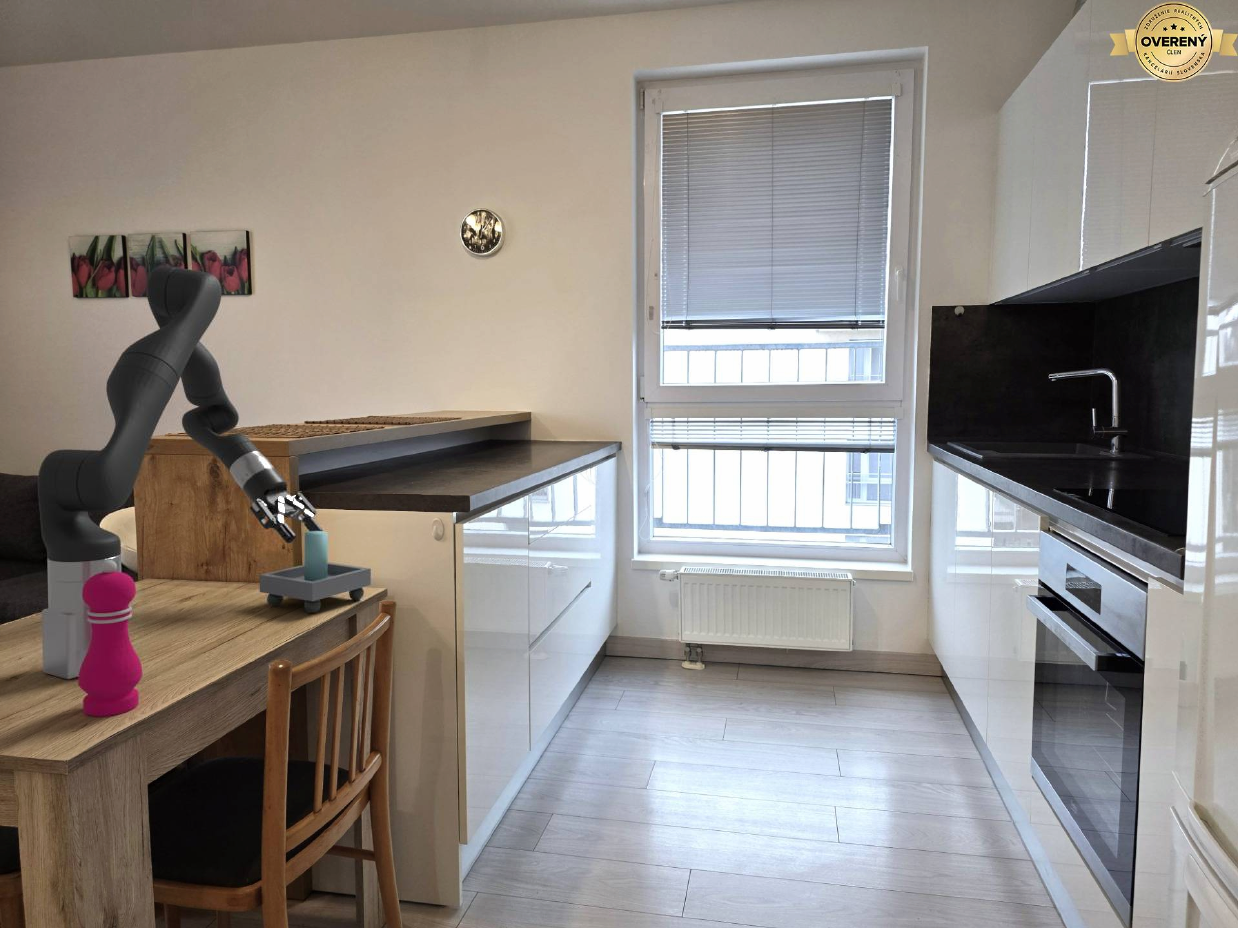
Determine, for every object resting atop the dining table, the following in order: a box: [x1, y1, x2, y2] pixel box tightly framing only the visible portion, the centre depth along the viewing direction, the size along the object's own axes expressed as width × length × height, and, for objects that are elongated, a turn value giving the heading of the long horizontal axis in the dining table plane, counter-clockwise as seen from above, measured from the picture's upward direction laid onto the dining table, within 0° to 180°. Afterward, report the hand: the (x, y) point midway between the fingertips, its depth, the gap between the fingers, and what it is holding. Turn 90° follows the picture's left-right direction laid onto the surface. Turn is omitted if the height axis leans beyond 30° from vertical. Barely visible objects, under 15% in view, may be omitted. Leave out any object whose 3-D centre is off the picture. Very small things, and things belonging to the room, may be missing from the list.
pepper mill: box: [77, 560, 143, 717], centre depth 106 cm, size 7×7×20 cm
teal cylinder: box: [303, 530, 329, 581], centre depth 162 cm, size 4×4×10 cm
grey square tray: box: [259, 562, 372, 614], centre depth 163 cm, size 16×14×6 cm
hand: (306, 537), depth 162 cm, fingers open, 8 cm apart
